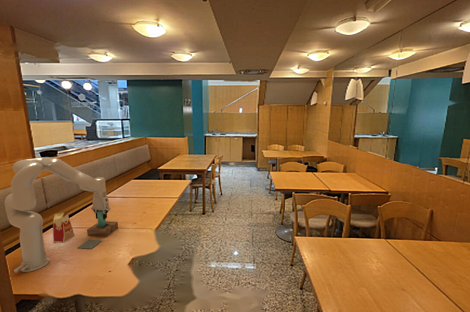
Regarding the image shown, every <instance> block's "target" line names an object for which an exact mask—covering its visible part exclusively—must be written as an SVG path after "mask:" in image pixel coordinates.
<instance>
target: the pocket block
mask: <svg viewBox="0 0 470 312" xmlns="http://www.w3.org/2000/svg"><path fill="white" fill-rule="evenodd" d="M118 228H119V222H118V221H111V220H110V221H109V220H106V227H104V228H98V222H97V223H95V224H93V225H92V226H90V227H88V228H87V229H86V231H87V232H86V234H87V237H95V238H108V237H109V236H110V235H111V234H112V233H113V232H115V231H116V230H118Z"/></svg>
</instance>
